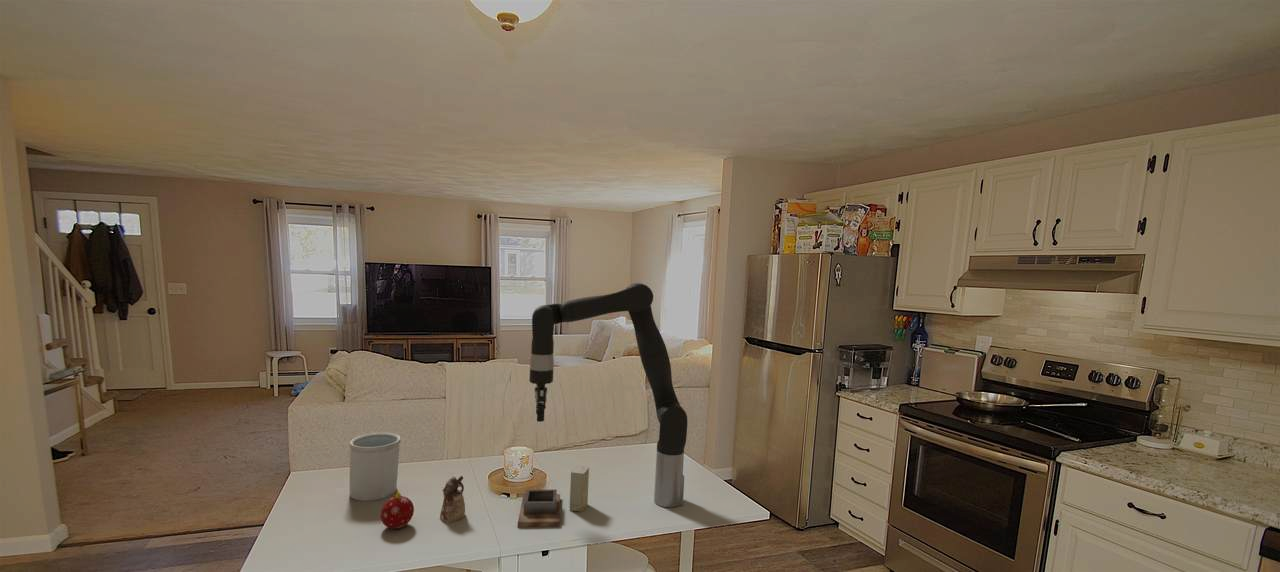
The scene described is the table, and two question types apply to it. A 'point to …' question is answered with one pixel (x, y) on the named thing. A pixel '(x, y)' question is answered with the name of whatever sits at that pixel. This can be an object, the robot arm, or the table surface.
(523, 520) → the keeper board
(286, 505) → the table surface
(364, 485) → the utensil holder
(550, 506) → the collar
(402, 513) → the christmas ornament
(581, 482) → the skincare box
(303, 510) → the table surface
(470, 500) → the table surface
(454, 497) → the figurine
